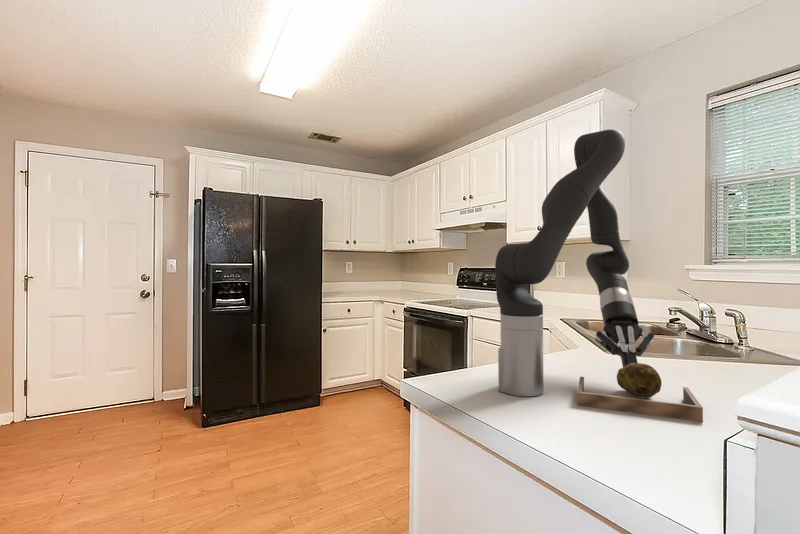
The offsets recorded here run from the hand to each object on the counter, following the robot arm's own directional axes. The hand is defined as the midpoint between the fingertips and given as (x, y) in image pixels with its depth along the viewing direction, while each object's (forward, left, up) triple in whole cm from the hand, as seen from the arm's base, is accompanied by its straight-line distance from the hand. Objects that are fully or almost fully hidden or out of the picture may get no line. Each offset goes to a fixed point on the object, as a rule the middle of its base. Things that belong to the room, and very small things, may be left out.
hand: (631, 369), depth 91 cm
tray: (0, -9, -5) cm, 10 cm away
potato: (+1, -5, -5) cm, 7 cm away
